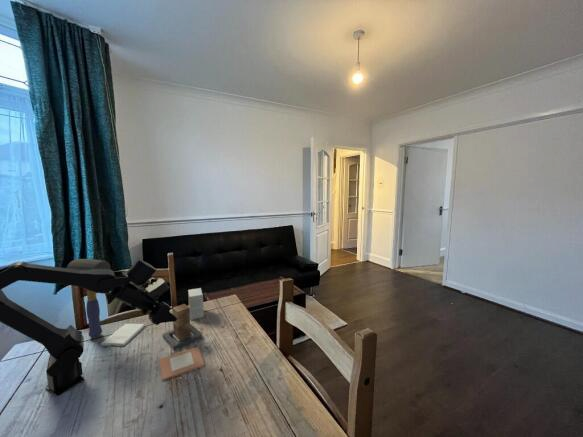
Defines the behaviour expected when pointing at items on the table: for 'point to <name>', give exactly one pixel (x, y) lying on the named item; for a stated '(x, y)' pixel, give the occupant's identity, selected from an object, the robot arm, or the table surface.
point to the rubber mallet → (91, 293)
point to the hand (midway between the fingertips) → (171, 315)
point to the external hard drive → (123, 335)
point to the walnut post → (181, 322)
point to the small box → (195, 303)
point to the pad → (181, 363)
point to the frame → (184, 342)
